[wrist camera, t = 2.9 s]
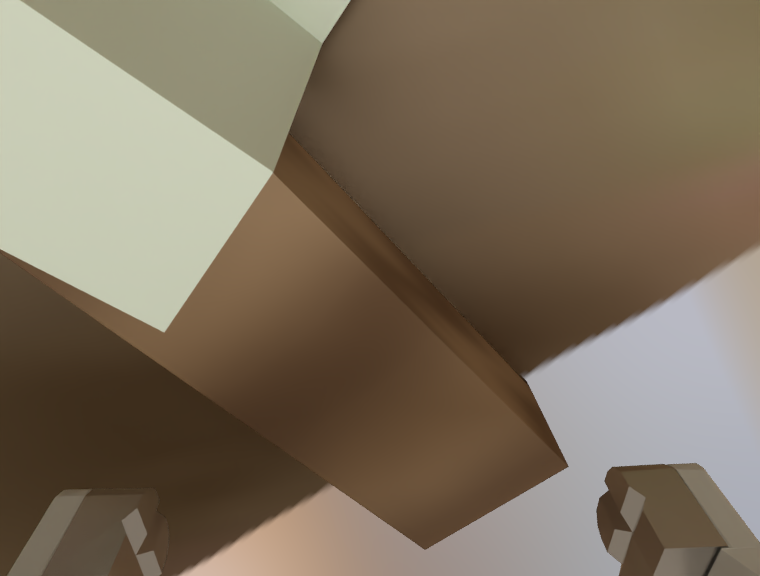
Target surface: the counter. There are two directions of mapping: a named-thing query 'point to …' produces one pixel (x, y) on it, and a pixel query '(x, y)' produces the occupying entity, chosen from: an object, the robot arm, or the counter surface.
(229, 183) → the pegged wall bracket
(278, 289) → the brown wooden block
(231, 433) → the counter surface
